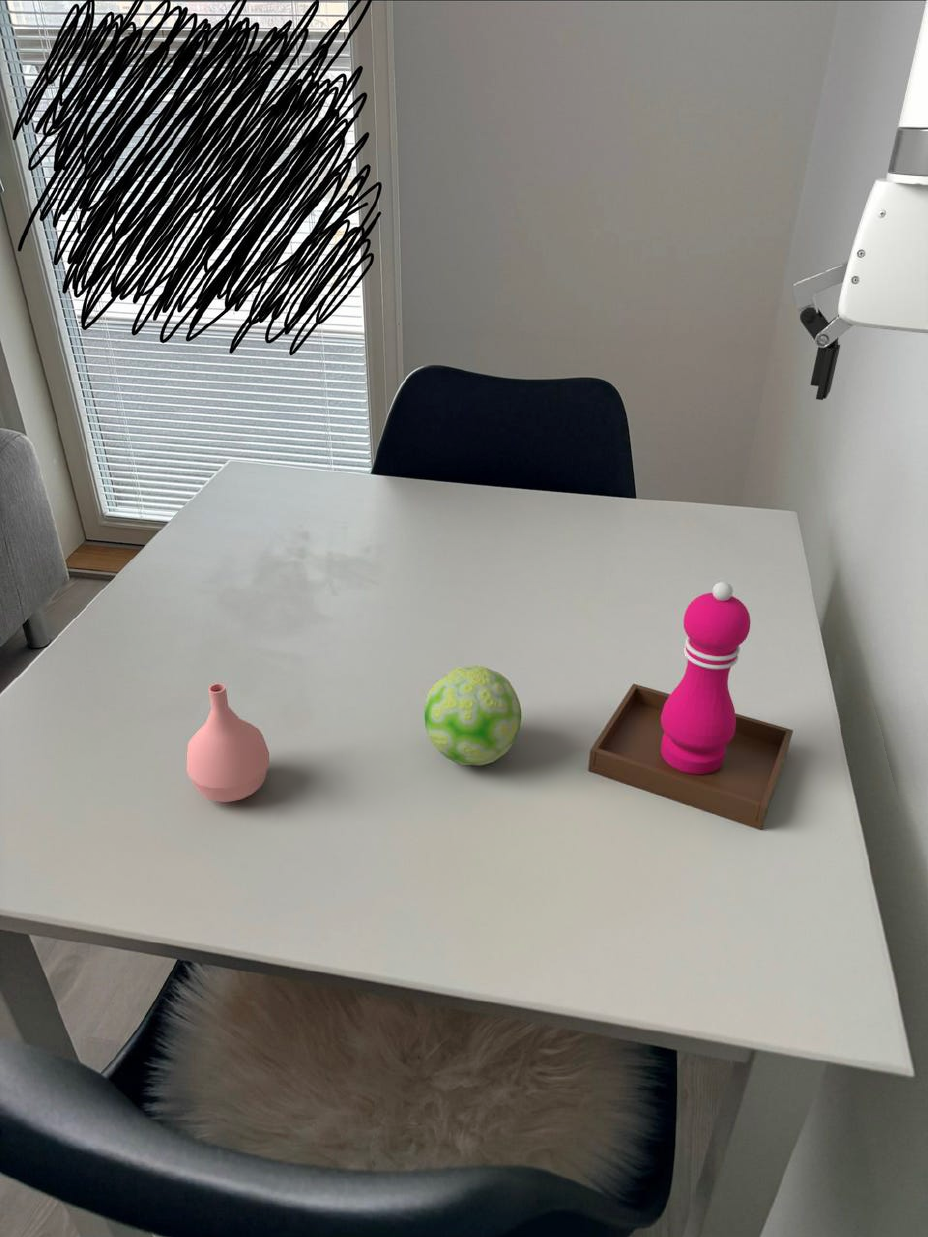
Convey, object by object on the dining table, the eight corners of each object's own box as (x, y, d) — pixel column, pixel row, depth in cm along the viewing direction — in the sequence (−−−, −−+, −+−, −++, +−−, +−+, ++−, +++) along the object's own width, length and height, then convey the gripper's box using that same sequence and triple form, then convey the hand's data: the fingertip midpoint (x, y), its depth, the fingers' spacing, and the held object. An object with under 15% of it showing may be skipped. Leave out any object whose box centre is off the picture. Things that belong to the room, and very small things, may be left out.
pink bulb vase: (195, 767, 88) (177, 668, 82) (272, 759, 89) (261, 661, 83) (188, 821, 81) (168, 717, 75) (271, 812, 83) (258, 709, 76)
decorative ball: (405, 747, 91) (403, 667, 86) (481, 714, 96) (483, 637, 91) (461, 800, 84) (463, 717, 79) (540, 761, 89) (546, 681, 84)
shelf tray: (787, 751, 92) (793, 730, 90) (761, 830, 81) (766, 807, 80) (630, 703, 98) (633, 683, 97) (587, 771, 88) (590, 749, 87)
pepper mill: (727, 740, 92) (763, 570, 82) (728, 784, 86) (767, 607, 76) (657, 728, 93) (684, 560, 83) (653, 771, 87) (682, 596, 77)
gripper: (1090, 161, 60) (1009, 408, 69) (825, 154, 67) (782, 379, 75) (1102, 166, 54) (1011, 435, 63) (810, 157, 61) (765, 400, 70)
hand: (886, 404), depth 69 cm, fingers open, 9 cm apart
